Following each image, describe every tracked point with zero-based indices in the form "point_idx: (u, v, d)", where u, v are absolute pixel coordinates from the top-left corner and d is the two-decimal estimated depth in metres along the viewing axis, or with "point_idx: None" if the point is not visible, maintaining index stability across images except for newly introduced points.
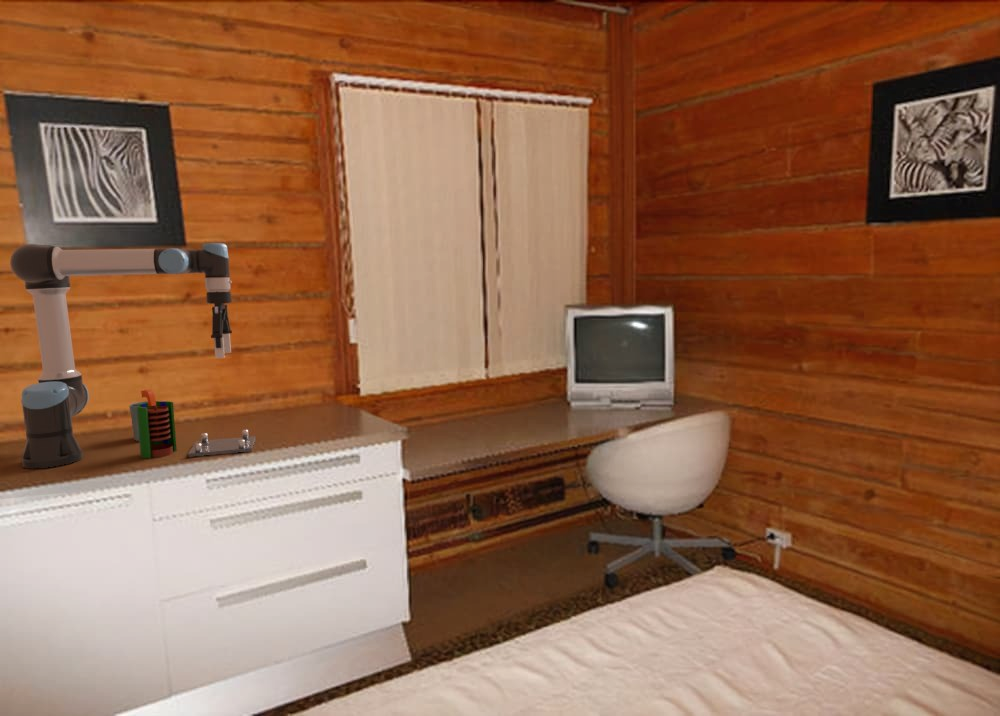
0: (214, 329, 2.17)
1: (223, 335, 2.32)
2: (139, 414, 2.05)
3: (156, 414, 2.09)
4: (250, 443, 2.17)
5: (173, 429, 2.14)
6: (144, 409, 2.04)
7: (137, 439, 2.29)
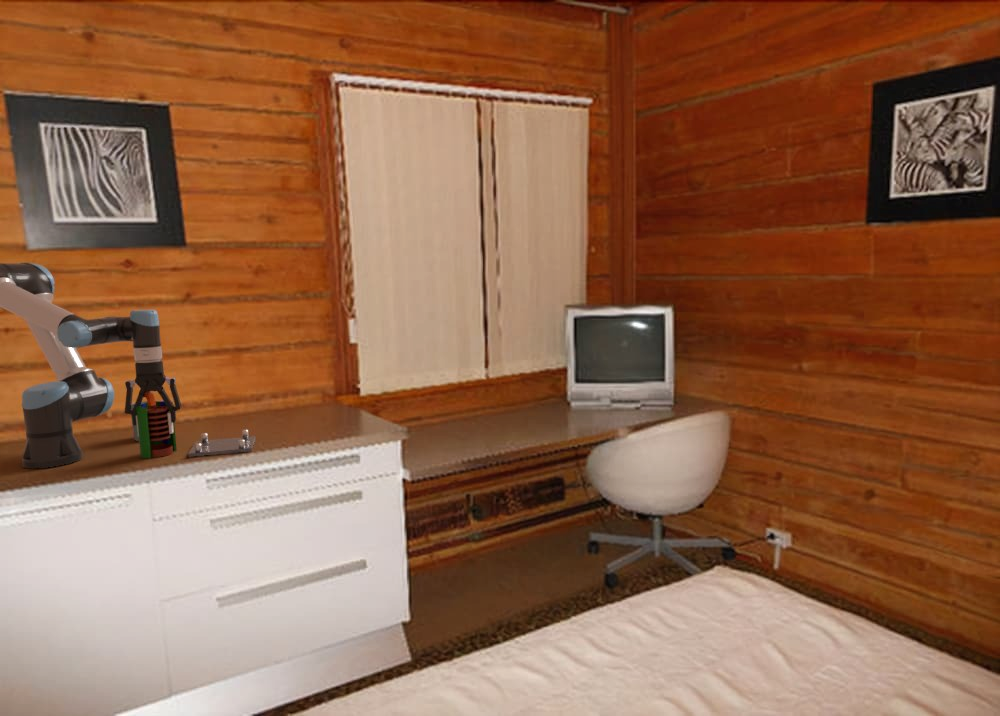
0: None
1: None
2: (139, 414, 2.05)
3: (156, 414, 2.09)
4: (250, 443, 2.17)
5: None
6: (144, 409, 2.04)
7: (137, 439, 2.29)
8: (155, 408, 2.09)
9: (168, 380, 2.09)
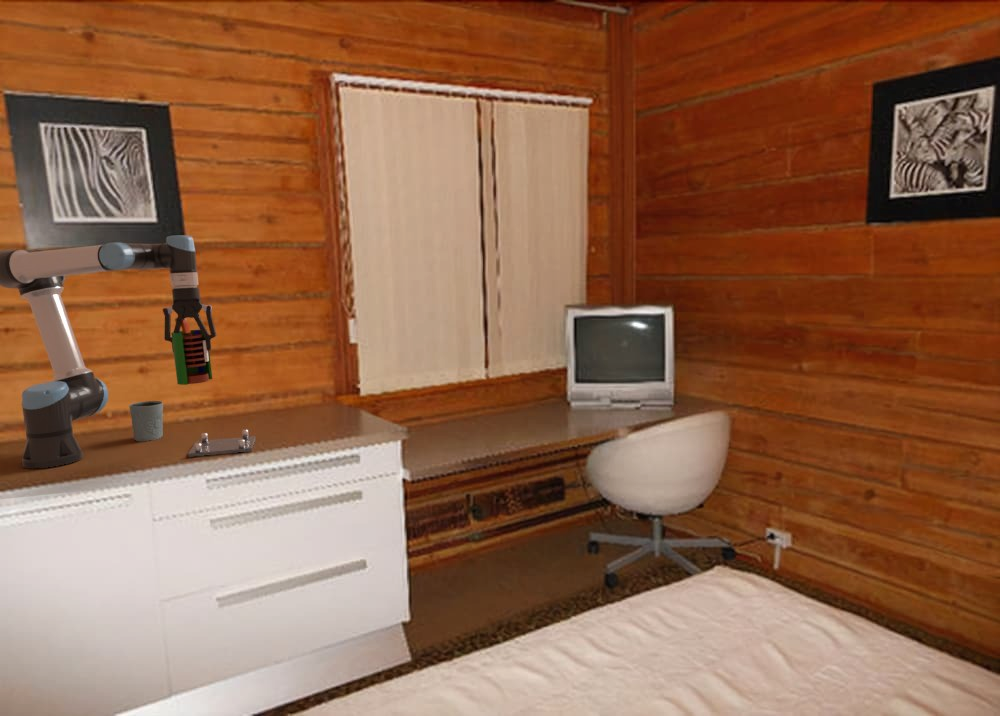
0: None
1: None
2: (174, 340, 2.05)
3: (191, 341, 2.09)
4: (250, 443, 2.17)
5: None
6: (179, 334, 2.04)
7: (137, 439, 2.29)
8: (190, 335, 2.09)
9: (204, 307, 2.09)
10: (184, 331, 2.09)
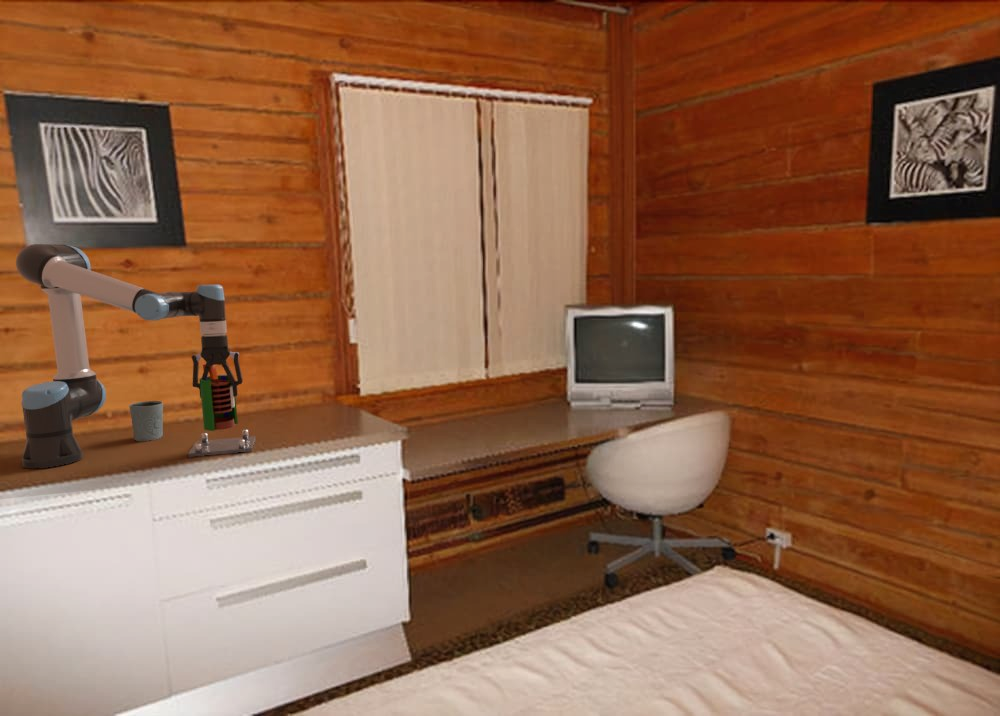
0: None
1: None
2: (203, 387, 2.09)
3: (218, 387, 2.13)
4: (250, 443, 2.17)
5: None
6: (208, 382, 2.08)
7: (137, 439, 2.29)
8: (217, 381, 2.13)
9: (232, 354, 2.14)
10: (212, 377, 2.13)
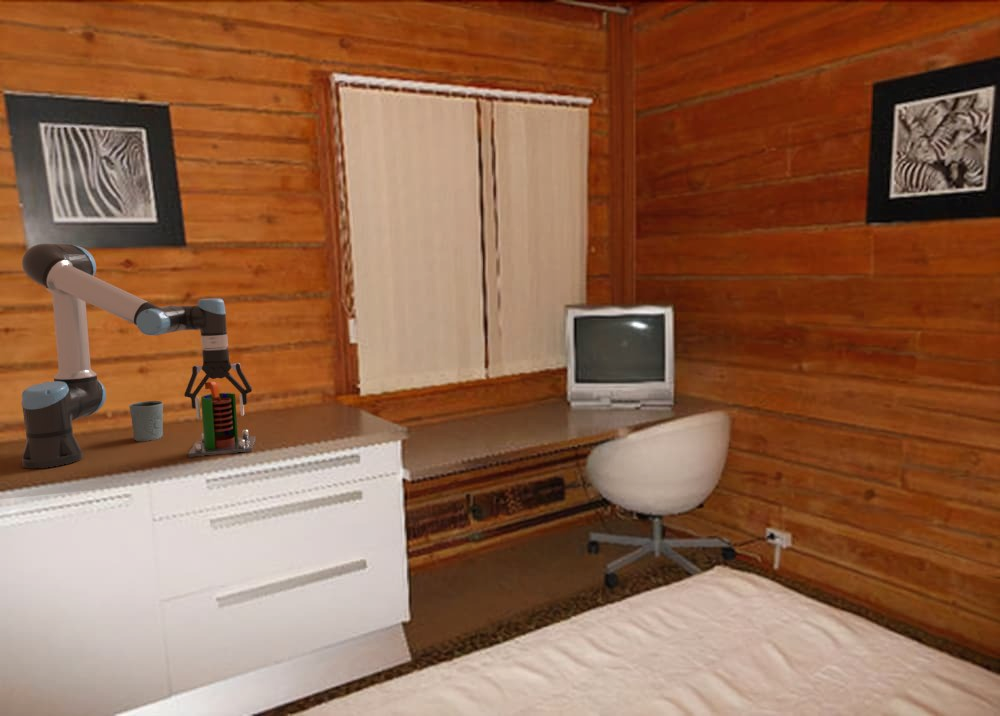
0: None
1: None
2: (204, 405, 2.10)
3: (219, 405, 2.14)
4: (250, 443, 2.17)
5: (235, 420, 2.18)
6: (209, 400, 2.09)
7: (137, 439, 2.29)
8: (219, 400, 2.14)
9: (234, 366, 2.14)
10: (213, 395, 2.13)
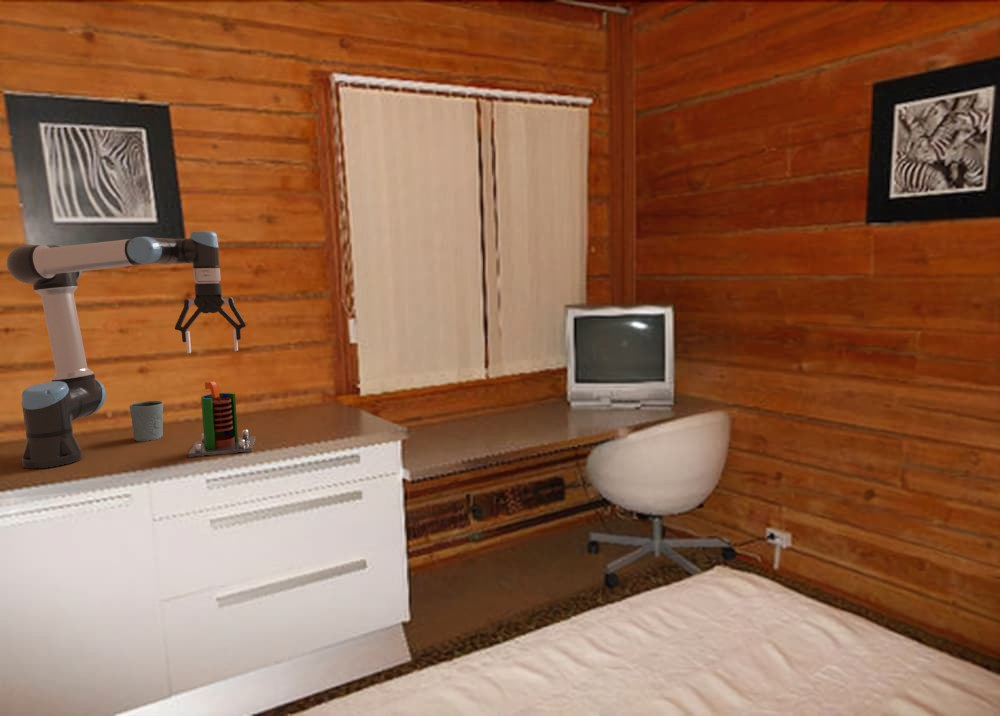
0: None
1: None
2: (204, 405, 2.10)
3: (219, 405, 2.14)
4: (250, 443, 2.17)
5: (235, 420, 2.18)
6: (209, 400, 2.09)
7: (137, 439, 2.29)
8: (219, 400, 2.14)
9: (226, 301, 2.11)
10: (213, 395, 2.13)
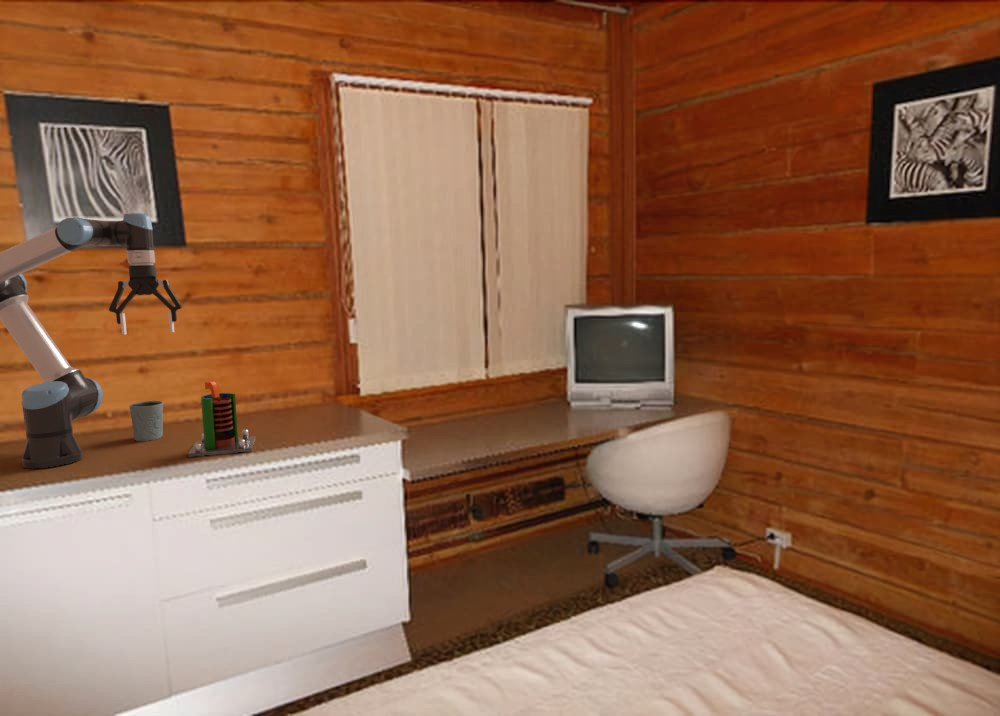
0: None
1: None
2: (204, 405, 2.10)
3: (219, 405, 2.14)
4: (250, 443, 2.17)
5: (235, 420, 2.18)
6: (209, 400, 2.09)
7: (137, 439, 2.29)
8: (219, 400, 2.14)
9: (161, 283, 2.13)
10: (213, 395, 2.13)
